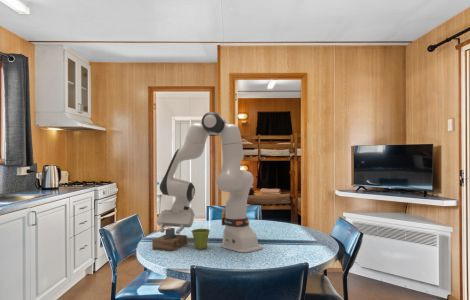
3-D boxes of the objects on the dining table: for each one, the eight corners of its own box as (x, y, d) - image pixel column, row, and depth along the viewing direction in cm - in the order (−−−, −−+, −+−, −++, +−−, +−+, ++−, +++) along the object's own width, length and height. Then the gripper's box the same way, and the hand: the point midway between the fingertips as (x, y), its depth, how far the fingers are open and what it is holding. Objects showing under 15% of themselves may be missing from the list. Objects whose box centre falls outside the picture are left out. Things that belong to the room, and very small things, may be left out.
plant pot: (192, 250, 159) (192, 233, 160) (190, 245, 168) (190, 229, 169) (211, 249, 162) (211, 231, 162) (208, 244, 171) (208, 228, 171)
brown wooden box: (167, 242, 176) (167, 233, 176) (186, 244, 172) (186, 235, 172) (152, 249, 163) (152, 240, 163) (173, 251, 159) (173, 241, 159)
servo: (170, 242, 171) (170, 225, 171) (175, 242, 170) (175, 226, 170) (164, 245, 165) (164, 228, 165) (169, 246, 164) (169, 228, 164)
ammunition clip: (222, 225, 219) (222, 207, 219) (221, 224, 221) (221, 207, 221) (237, 224, 222) (237, 206, 223) (236, 223, 224) (236, 206, 224)
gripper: (160, 206, 178) (149, 227, 169) (193, 207, 171) (184, 230, 162) (164, 213, 182) (154, 234, 173) (197, 215, 175) (189, 237, 166)
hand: (169, 232), depth 167 cm, fingers open, 8 cm apart
